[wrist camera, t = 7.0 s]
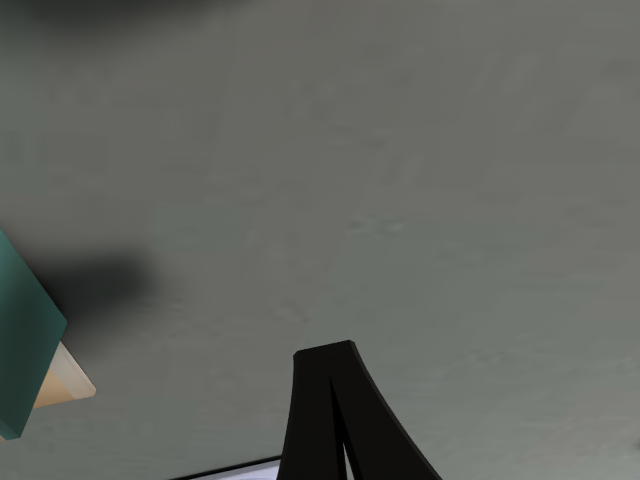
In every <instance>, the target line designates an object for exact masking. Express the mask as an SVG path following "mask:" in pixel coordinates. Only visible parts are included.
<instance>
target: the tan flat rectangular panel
mask: <svg viewBox="0 0 640 480" xmlns="http://www.w3.org/2000/svg"><path fill="white" fill-rule="evenodd" d="M95 392H96V388H95V387H94V386H93V384H92V383H91V382H90V380H89V379H88V378H87V376H86V375H85V373H84V372H83V371H82V369H81V368H80V367H79V365H78V364H77V363H76V361H75V360H74V359H73V357H72V356H71V355H70V353H69V352H68V350H67V349H66V348H65V346H64V345H63V344H62V342H61V341H60V343H59V345H58V347H57V350H56V352H55V355H54V357H53V359H52V362H51V364H50V367H49V369H48V372H47V374H46V376H45V379H44V381H43V384H42V386H41V388H40V391H39V393H38V396H37V398H36V401H35V403H34V405H33V408H37V407H41V406H46V405H51V404H56V403H60V402H65V401H70V400H74V399H75V400H76V399H81V398H86V397H90V396H94V395H95Z"/></svg>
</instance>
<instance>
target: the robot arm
mask: <svg viewBox="0 0 640 480" xmlns="http://www.w3.org/2000/svg"><path fill="white" fill-rule="evenodd" d="M293 360H294V371H293V387H292V396H291V404H290V412H289V418H288V424H287V430H286V435H285V441H284V447H283V452H282V456H281V459H280V460H276V461H271V462H267V463H262V464H258V465H253V466H249V467H244V468H240V469H235V470H230V471H226V472H221V473H217V474H212V475H208V476H203V477H199V478H194V479H190V480H347V471H346V463H345V454H344V446H345V450H346V453H347V456H348V460H349V463H350V467H351V470H352V473H353V477H354V480H442V478H441V477H440V476H439V475H438V473H437V472H436V471H435V470H434V468H433V467H432V466H431V464H430V463H429V462H428V461H427V459H426V458H425V457H424V455H423V454H422V453H421V451H420V450H419V449H418V447H417V446H416V445H415V443H414V442H413V441H412V439H411V438H410V436H409V435H408V434H407V432H406V431H405V429H404V428H403V426H402V425H401V424H400V422H399V421H398V419H397V418H396V416H395V415H394V413H393V412H392V410H391V409H390V407H389V406H388V404H387V403H386V401H385V399H384V398H383V396H382V395H381V393H380V391H379V390H378V388H377V386H376V385H375V383H374V381H373V379H372V378H371V376H370V374H369V372H368V371H367V369H366V367H365V365H364V363H363V361H362V359H361V357H360V354H359V352H358V350H357V348H356V345H355V342H353V341H351V340H346V341H341V342H337V343H332V344H327V345H323V346H318V347H313V348H309V349H304V350H299V351H297V352H296V353H295V354H294V355H293ZM343 443H344V446H343Z"/></svg>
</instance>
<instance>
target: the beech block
mask: <svg viewBox="0 0 640 480" xmlns="http://www.w3.org/2000/svg"><path fill="white" fill-rule="evenodd" d="M67 323H68V322H67V321H66V319H65V318H64V316H63V315H62V314H61V312H60V311H59V309H58V308H57V307H56V305H55V304H54V302H53V301H52V300H51V298H50V297H49V295H48V294H47V293H46V291H45V290H44V288H43V287H42V286H41V284H40V283H39V281H38V280H37V279H36V277H35V276H34V274H33V273H32V272H31V270H30V269H29V267H28V266H27V265H26V263H25V262H24V260H23V259H22V258H21V256H20V255H19V253H18V252H17V251H16V249H15V248H14V246H13V245H12V244H11V242H10V241H9V239H8V238H7V237H6V235H5V234H4V232H3V231H2V230H1V228H0V442H2V441H6V440H11V439H16V438H20V437H21V434H22V432H23V430H24V427H25V425H26V422H27V420H28V417H29V415H30V413H31V410H32V408H33V405H34V403H35V401H36V398H37V396H38V393H39V391H40V388H41V386H42V384H43V381H44V379H45V376H46V374H47V372H48V369H49V367H50V364H51V362H52V359H53V357H54V355H55V352H56V350H57V347H58V345H59V343H60V340H61V338H62V335H63V333H64V330H65V328H66V326H67Z"/></svg>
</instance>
